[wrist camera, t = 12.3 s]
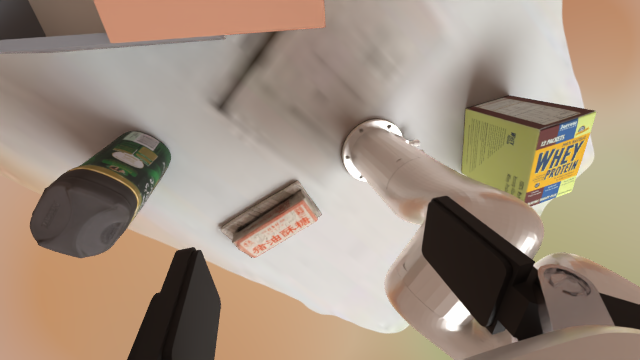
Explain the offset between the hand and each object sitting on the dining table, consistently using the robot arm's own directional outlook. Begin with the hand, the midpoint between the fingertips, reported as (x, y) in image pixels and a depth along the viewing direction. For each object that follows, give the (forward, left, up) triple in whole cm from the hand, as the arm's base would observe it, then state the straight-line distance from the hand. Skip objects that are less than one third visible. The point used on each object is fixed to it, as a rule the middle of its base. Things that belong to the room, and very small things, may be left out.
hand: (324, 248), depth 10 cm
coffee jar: (+22, +7, -36) cm, 43 cm away
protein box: (-44, +13, -37) cm, 59 cm away
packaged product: (+3, +24, -37) cm, 44 cm away
